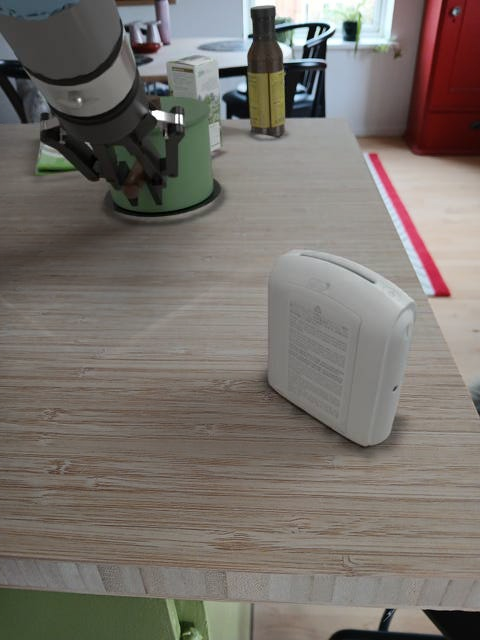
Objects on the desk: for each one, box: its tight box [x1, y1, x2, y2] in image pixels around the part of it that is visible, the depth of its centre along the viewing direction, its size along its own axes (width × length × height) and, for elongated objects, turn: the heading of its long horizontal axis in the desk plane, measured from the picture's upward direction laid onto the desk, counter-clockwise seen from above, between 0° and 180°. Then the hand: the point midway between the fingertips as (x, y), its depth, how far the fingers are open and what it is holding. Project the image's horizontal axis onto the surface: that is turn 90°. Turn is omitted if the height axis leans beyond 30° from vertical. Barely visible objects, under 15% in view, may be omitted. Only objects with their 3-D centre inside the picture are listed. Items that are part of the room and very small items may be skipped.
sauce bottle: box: [246, 4, 286, 138], centre depth 87 cm, size 6×6×20 cm
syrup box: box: [165, 54, 223, 153], centre depth 81 cm, size 6×6×14 cm
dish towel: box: [34, 140, 93, 177], centre depth 88 cm, size 17×23×4 cm
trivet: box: [104, 177, 222, 218], centre depth 71 cm, size 16×16×1 cm
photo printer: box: [267, 249, 418, 447], centre depth 35 cm, size 10×4×12 cm, turn 45°
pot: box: [108, 94, 214, 212], centre depth 63 cm, size 24×15×12 cm, turn 178°
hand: (146, 195), depth 62 cm, fingers closed on pot, 2 cm apart
